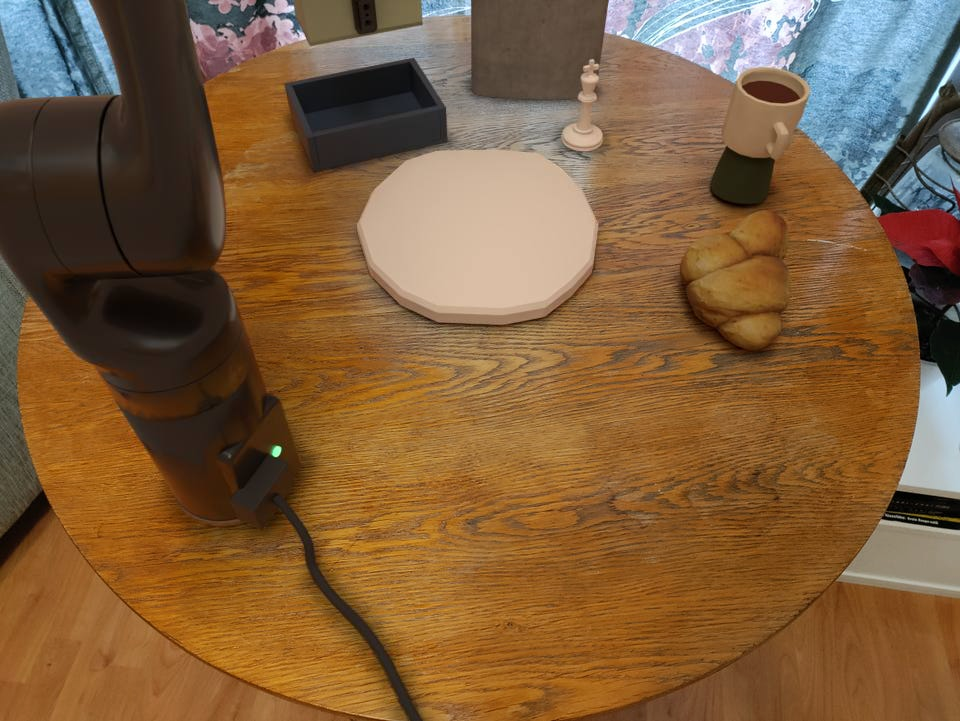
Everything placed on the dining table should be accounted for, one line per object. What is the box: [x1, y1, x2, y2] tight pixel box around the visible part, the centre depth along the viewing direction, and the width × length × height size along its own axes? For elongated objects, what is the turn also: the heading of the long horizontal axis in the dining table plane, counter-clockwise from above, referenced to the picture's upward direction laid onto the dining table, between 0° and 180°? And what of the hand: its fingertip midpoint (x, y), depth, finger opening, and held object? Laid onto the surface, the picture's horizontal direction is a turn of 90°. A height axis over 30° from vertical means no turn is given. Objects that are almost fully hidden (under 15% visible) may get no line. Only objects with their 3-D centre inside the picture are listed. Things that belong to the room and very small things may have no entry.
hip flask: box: [470, 0, 610, 101], centre depth 89 cm, size 16×4×20 cm, turn 88°
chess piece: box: [560, 59, 604, 152], centre depth 87 cm, size 5×5×10 cm
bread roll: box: [678, 209, 792, 351], centre depth 70 cm, size 13×10×8 cm
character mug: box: [709, 66, 811, 205], centre depth 80 cm, size 11×7×13 cm, turn 6°
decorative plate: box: [355, 149, 600, 326], centre depth 78 cm, size 25×4×25 cm
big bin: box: [283, 57, 448, 173], centre depth 90 cm, size 16×12×5 cm
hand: (357, 15), depth 79 cm, fingers closed on small bin, 6 cm apart
